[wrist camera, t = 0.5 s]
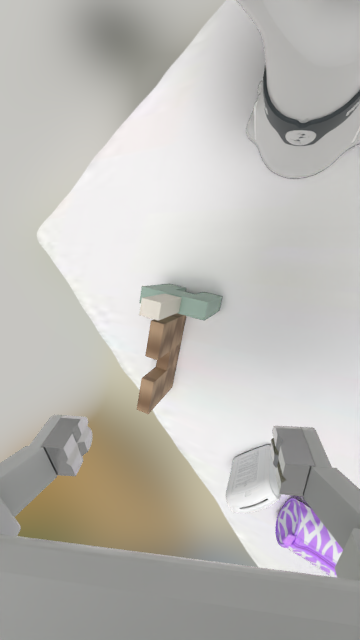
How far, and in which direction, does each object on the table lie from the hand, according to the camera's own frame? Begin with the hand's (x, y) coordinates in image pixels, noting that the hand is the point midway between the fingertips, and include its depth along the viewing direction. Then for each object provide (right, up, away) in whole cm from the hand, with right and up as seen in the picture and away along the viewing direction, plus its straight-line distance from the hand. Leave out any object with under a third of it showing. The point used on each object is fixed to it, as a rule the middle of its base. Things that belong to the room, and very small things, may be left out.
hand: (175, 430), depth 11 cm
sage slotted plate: (+3, +10, +42) cm, 43 cm away
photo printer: (+17, -25, +43) cm, 53 cm away
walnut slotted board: (-1, -2, +45) cm, 45 cm away
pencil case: (+31, -39, +40) cm, 64 cm away
